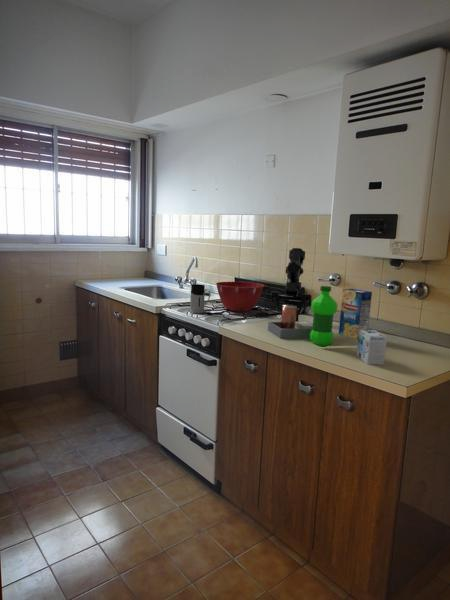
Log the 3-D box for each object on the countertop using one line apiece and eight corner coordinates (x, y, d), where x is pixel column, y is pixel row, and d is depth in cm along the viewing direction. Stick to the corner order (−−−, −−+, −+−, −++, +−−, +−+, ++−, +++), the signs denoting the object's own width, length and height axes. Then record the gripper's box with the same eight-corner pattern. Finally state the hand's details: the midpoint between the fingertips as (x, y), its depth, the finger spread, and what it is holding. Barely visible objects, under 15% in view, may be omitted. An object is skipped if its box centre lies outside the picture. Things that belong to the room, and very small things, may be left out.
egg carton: (306, 331, 199) (306, 321, 198) (315, 336, 190) (316, 326, 189) (293, 331, 197) (294, 321, 196) (302, 336, 188) (303, 326, 188)
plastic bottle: (303, 342, 181) (308, 284, 177) (324, 341, 185) (329, 284, 181) (317, 349, 172) (322, 288, 168) (338, 347, 176) (344, 288, 172)
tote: (306, 331, 202) (307, 321, 201) (321, 339, 188) (322, 328, 187) (267, 332, 197) (268, 321, 196) (280, 340, 183) (280, 329, 182)
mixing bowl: (205, 307, 252) (206, 282, 249) (238, 304, 271) (240, 280, 269) (238, 316, 232) (239, 288, 229) (272, 311, 251) (274, 285, 248)
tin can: (284, 331, 196) (286, 303, 194) (296, 333, 192) (299, 305, 190) (277, 333, 191) (279, 305, 189) (290, 336, 187) (293, 307, 185)
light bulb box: (355, 356, 165) (358, 329, 163) (372, 356, 165) (375, 329, 164) (367, 364, 154) (370, 335, 153) (384, 365, 155) (388, 336, 153)
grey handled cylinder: (197, 309, 245) (198, 283, 243) (214, 313, 235) (215, 286, 233) (186, 310, 239) (186, 284, 236) (203, 315, 229) (204, 287, 227)
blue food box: (357, 341, 188) (362, 292, 185) (338, 335, 197) (342, 289, 194) (367, 339, 192) (372, 291, 189) (348, 334, 201) (352, 288, 198)
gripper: (272, 274, 195) (267, 301, 187) (313, 277, 192) (310, 305, 183) (272, 288, 204) (268, 315, 196) (312, 291, 200) (309, 319, 192)
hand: (288, 313), depth 191 cm, fingers open, 9 cm apart
